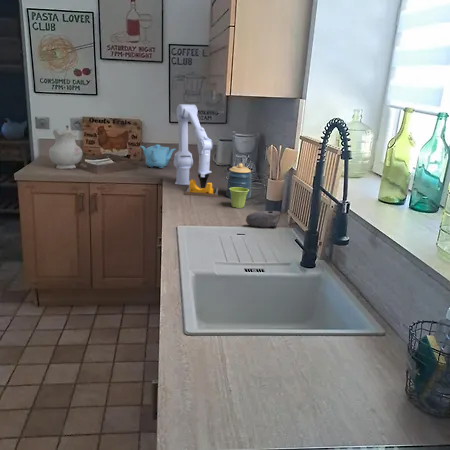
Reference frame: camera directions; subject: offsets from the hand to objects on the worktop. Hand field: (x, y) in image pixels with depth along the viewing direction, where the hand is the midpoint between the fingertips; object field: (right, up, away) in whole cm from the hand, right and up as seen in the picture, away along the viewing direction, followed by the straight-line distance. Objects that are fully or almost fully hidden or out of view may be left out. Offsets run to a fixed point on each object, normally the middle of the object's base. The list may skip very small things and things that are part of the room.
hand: (203, 187), depth 248 cm
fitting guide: (0, -2, 0) cm, 2 cm away
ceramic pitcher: (-86, +16, +41) cm, 97 cm away
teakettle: (-33, +18, +58) cm, 69 cm away
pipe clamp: (-1, -3, -1) cm, 4 cm away
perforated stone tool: (+28, -21, -50) cm, 61 cm away
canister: (+19, -5, -3) cm, 20 cm away
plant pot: (+18, -11, -22) cm, 30 cm away
